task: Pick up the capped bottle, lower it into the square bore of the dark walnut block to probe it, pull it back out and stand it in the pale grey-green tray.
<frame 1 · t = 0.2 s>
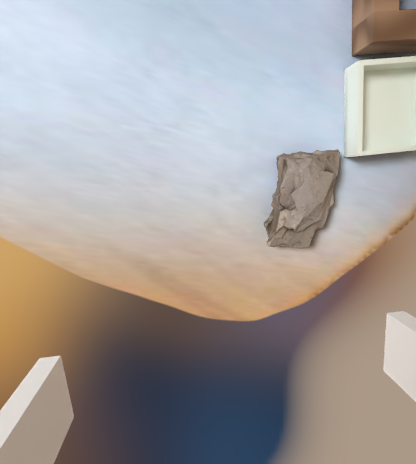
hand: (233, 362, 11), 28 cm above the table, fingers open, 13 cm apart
tray: (379, 111, 38), on the table
rock: (293, 195, 39), on the table
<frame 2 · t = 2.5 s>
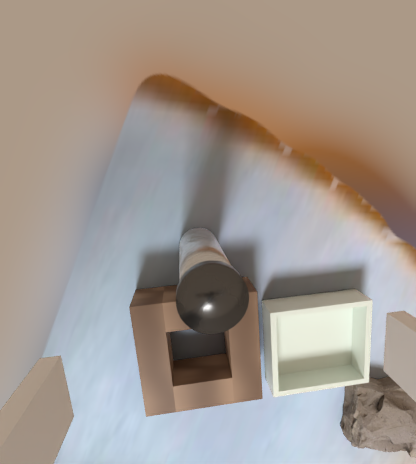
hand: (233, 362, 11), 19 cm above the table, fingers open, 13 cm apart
capped bottle: (198, 246, 29), on the table
bore block: (197, 333, 31), on the table
tray: (309, 334, 33), on the table
rock: (379, 406, 37), on the table
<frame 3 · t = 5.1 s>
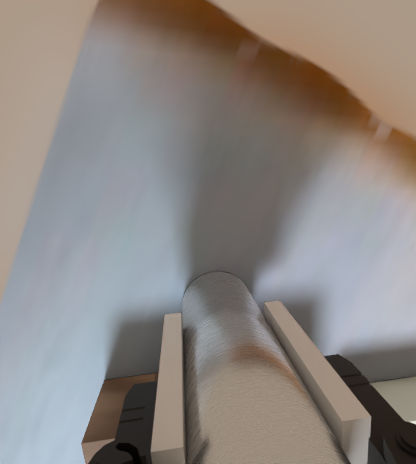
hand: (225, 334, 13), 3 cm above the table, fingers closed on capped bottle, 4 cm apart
capped bottle: (216, 303, 16), on the table, touching gripper
bore block: (212, 446, 18), on the table
tray: (396, 439, 20), on the table
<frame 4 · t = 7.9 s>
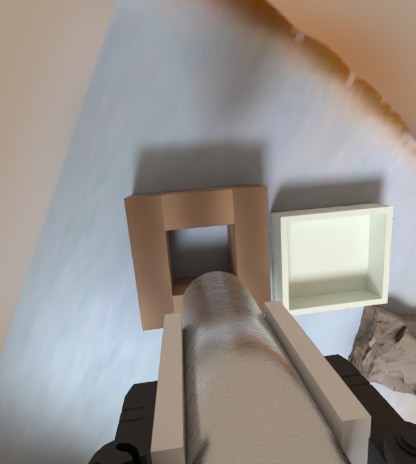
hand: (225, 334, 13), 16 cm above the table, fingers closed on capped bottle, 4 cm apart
capped bottle: (216, 303, 16), point 13 cm above the table, touching gripper
bore block: (199, 248, 29), on the table
tray: (321, 254, 30), on the table
rock: (391, 349, 34), on the table
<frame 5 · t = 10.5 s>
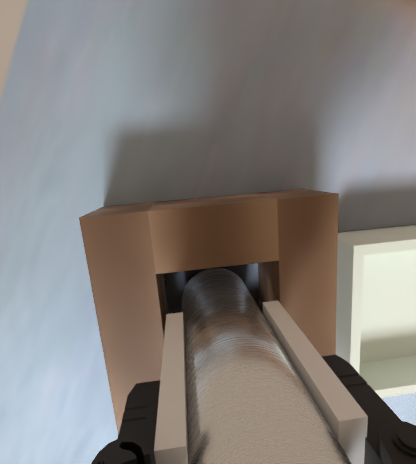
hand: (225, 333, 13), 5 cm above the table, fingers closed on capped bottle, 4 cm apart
capped bottle: (215, 299, 17), point 1 cm above the table, touching gripper
bore block: (213, 291, 18), on the table
tray: (400, 296, 20), on the table
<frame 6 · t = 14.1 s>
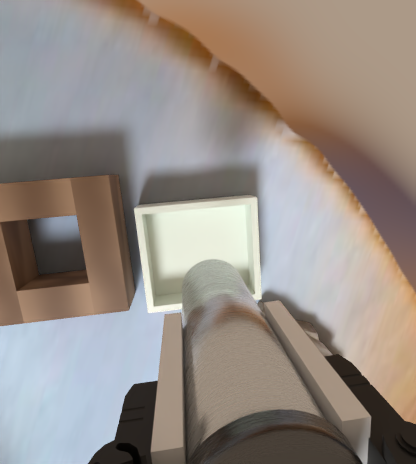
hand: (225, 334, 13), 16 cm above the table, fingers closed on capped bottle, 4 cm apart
capped bottle: (212, 288, 18), point 11 cm above the table, touching gripper
bore block: (64, 242, 27), on the table
tray: (199, 248, 29), on the table
rock: (281, 354, 33), on the table
when the fingers open (6 cm above the table, at t = 16.4 s): capped bottle stays where it is, resting on tray.
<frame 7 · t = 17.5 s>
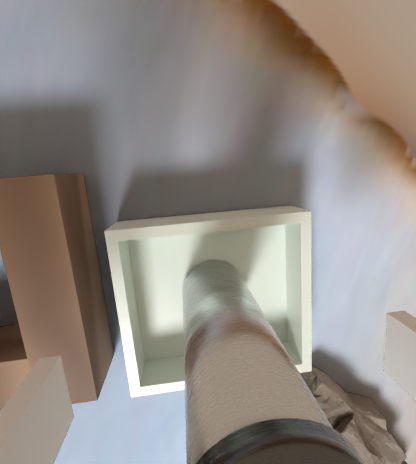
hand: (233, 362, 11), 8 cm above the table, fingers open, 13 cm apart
capped bottle: (213, 289, 18), point 1 cm above the table, touching tray
bore block: (0, 280, 17), on the table
tray: (211, 286, 19), on the table
rock: (322, 437, 23), on the table
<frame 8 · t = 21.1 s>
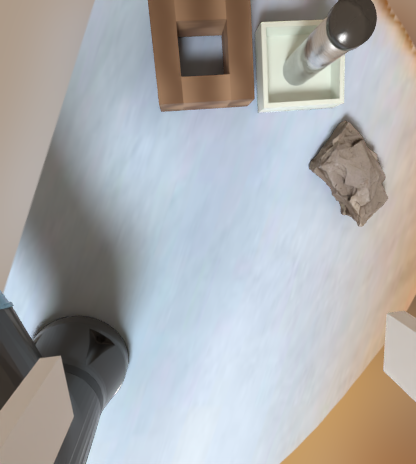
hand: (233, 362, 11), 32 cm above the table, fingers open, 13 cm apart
capped bottle: (296, 70, 39), point 1 cm above the table, touching tray
bore block: (201, 61, 38), on the table
tray: (294, 72, 39), on the table
rock: (341, 175, 44), on the table
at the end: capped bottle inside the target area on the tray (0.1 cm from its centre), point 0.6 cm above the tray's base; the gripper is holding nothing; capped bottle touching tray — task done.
